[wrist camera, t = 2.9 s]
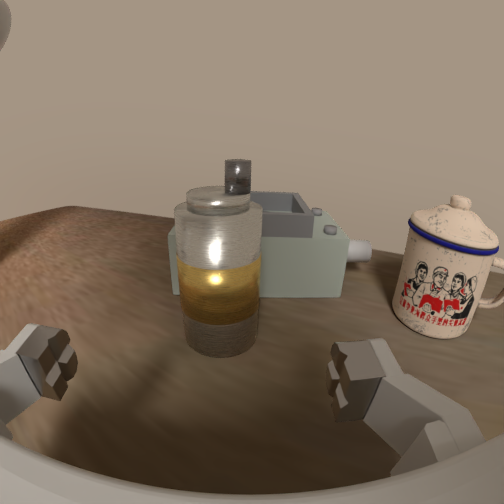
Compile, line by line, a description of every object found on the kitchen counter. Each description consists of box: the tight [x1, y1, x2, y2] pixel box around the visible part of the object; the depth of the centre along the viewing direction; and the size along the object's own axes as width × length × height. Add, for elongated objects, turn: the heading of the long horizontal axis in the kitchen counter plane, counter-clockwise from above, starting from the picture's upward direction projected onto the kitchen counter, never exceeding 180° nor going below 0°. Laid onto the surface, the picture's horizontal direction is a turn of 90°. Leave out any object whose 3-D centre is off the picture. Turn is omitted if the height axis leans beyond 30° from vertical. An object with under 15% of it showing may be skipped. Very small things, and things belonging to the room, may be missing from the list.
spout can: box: [174, 159, 263, 358], centre depth 20 cm, size 6×6×13 cm
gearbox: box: [168, 191, 372, 298], centre depth 31 cm, size 20×9×8 cm, turn 91°
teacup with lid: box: [392, 195, 504, 339], centre depth 22 cm, size 12×9×12 cm
